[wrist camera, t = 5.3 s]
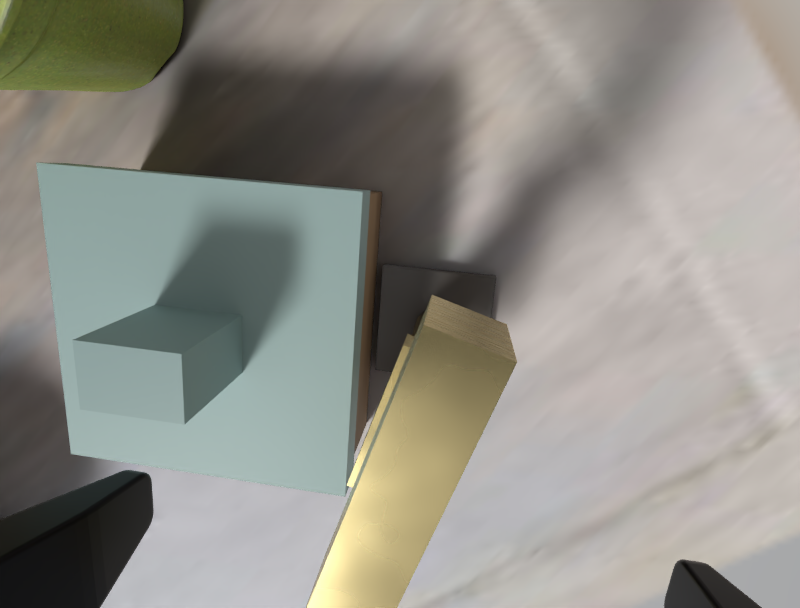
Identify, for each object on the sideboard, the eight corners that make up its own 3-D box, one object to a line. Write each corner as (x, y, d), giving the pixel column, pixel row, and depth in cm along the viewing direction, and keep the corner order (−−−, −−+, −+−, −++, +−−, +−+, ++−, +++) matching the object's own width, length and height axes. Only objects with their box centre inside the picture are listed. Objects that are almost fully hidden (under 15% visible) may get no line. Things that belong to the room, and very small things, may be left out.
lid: (94, 437, 19) (-20, 518, 15) (66, 163, 16) (-86, 160, 12) (352, 475, 18) (315, 576, 14) (370, 190, 15) (330, 197, 11)
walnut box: (153, 394, 22) (98, 433, 19) (139, 170, 20) (72, 169, 16) (473, 438, 21) (474, 489, 18) (505, 202, 18) (514, 209, 15)
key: (418, 417, 20) (367, 679, 10) (378, 401, 20) (286, 644, 10) (489, 253, 18) (522, 364, 8) (445, 236, 18) (418, 322, 8)
